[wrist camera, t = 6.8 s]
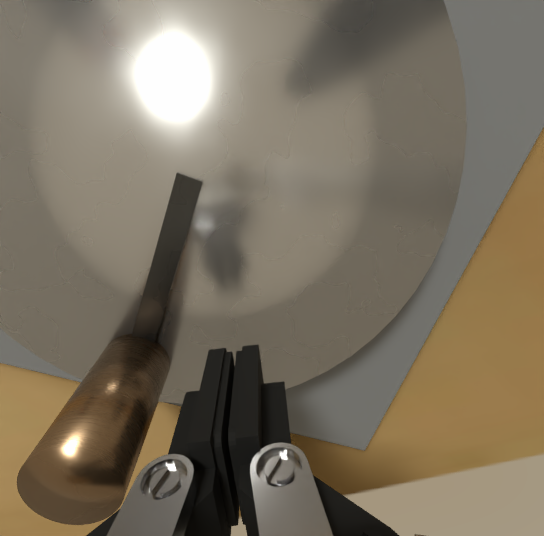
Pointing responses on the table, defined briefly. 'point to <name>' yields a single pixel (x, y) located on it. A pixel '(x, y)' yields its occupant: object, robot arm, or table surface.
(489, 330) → the table surface
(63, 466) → the dial
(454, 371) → the table surface
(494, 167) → the base plate
